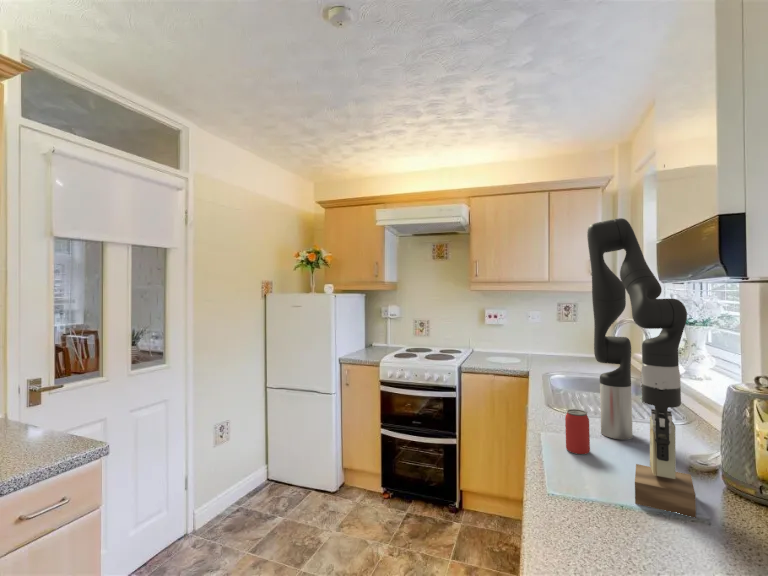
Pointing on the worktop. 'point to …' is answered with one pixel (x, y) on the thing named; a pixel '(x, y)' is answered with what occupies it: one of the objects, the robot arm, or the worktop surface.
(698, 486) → the worktop surface
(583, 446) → the beer can
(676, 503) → the walnut block
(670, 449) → the skincare box
